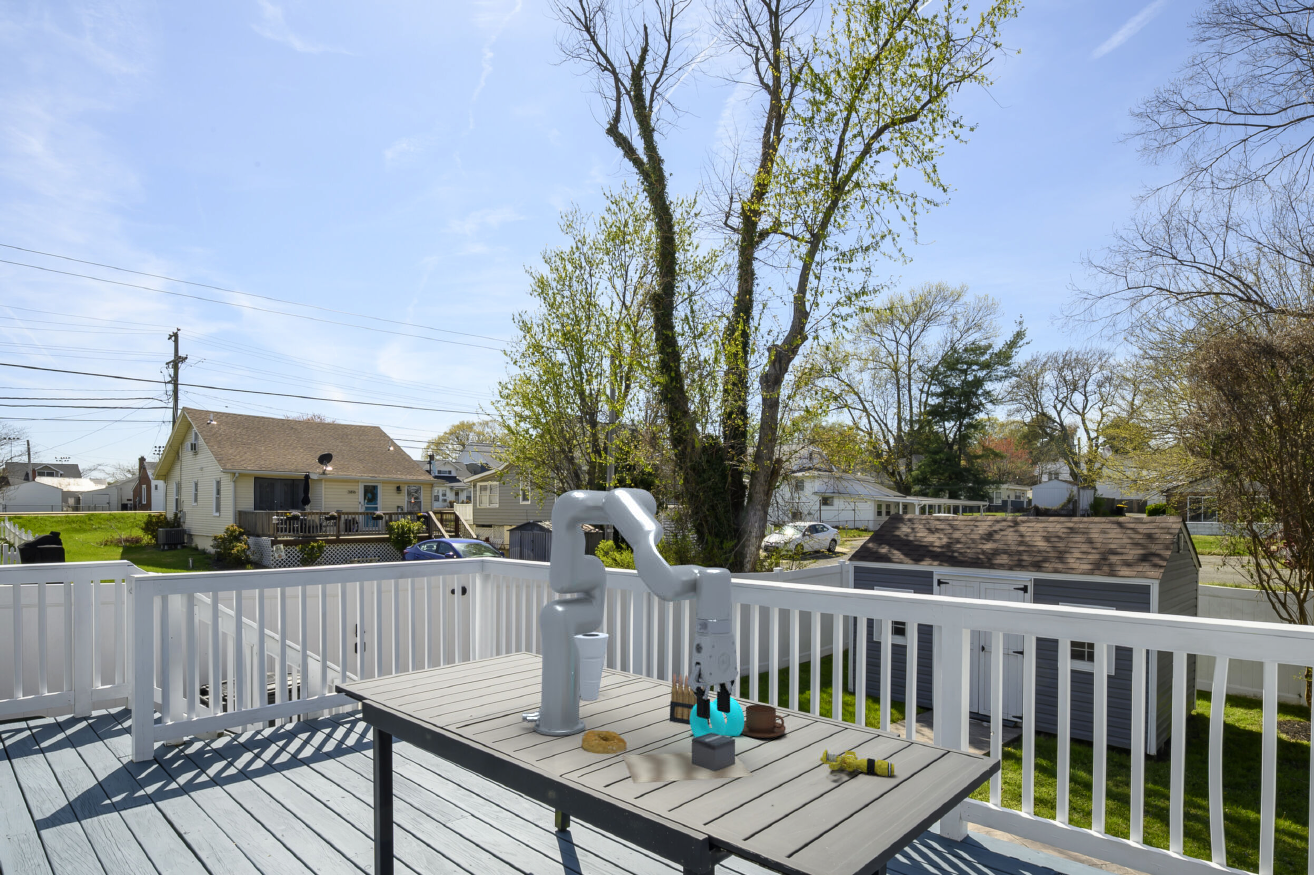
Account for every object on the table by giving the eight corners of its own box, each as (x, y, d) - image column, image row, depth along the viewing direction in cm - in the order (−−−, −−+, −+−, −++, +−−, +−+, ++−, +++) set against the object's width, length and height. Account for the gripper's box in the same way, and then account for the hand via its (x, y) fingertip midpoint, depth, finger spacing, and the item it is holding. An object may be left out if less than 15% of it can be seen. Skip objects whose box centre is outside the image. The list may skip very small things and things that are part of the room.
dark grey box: (715, 771, 143) (715, 744, 144) (691, 763, 148) (691, 737, 148) (735, 764, 148) (735, 738, 148) (711, 756, 152) (711, 731, 153)
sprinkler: (894, 766, 139) (816, 755, 144) (893, 788, 138) (815, 776, 143) (894, 750, 157) (825, 741, 162) (894, 770, 156) (825, 760, 161)
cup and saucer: (787, 729, 178) (787, 704, 179) (783, 744, 167) (782, 716, 168) (740, 725, 182) (740, 700, 182) (732, 739, 170) (732, 712, 171)
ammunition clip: (709, 725, 180) (709, 677, 182) (706, 727, 179) (706, 678, 180) (672, 719, 186) (673, 672, 187) (669, 721, 184) (669, 673, 186)
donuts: (687, 741, 167) (687, 698, 168) (714, 733, 174) (714, 691, 175) (719, 752, 160) (719, 706, 161) (747, 742, 167) (746, 698, 168)
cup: (566, 696, 209) (567, 633, 211) (600, 692, 213) (601, 631, 216) (577, 704, 199) (579, 639, 201) (613, 701, 204) (614, 636, 206)
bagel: (599, 765, 151) (599, 742, 151) (572, 752, 159) (572, 730, 160) (637, 756, 157) (637, 734, 157) (608, 744, 165) (609, 722, 166)
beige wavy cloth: (633, 790, 136) (633, 782, 137) (622, 763, 152) (622, 755, 152) (753, 783, 141) (753, 775, 141) (730, 757, 156) (730, 750, 157)
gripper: (700, 633, 142) (700, 726, 140) (752, 624, 154) (752, 710, 152) (673, 628, 147) (672, 719, 145) (725, 621, 160) (725, 704, 158)
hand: (713, 713), depth 149 cm, fingers open, 5 cm apart
